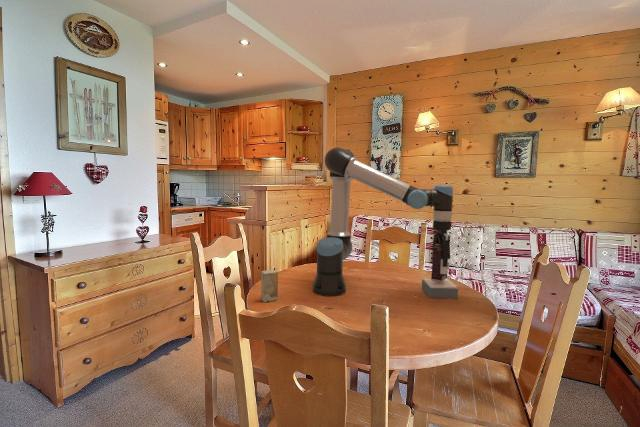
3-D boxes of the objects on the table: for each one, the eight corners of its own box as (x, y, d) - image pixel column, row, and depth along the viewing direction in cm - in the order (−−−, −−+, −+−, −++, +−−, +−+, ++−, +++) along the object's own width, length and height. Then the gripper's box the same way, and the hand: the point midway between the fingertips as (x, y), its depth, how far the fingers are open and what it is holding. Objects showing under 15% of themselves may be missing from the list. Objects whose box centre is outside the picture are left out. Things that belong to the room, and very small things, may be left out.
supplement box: (442, 282, 139) (443, 246, 138) (430, 280, 142) (432, 245, 140) (447, 278, 146) (449, 243, 144) (437, 276, 149) (438, 242, 147)
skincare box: (263, 302, 132) (263, 273, 131) (260, 299, 136) (260, 271, 135) (278, 300, 135) (278, 271, 134) (275, 296, 139) (274, 269, 138)
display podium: (429, 297, 139) (429, 286, 138) (421, 288, 151) (422, 278, 150) (457, 298, 138) (458, 287, 138) (447, 289, 150) (448, 278, 150)
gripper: (460, 223, 130) (457, 278, 133) (442, 217, 152) (440, 264, 154) (442, 223, 131) (439, 277, 133) (426, 217, 152) (424, 263, 155)
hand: (439, 270), depth 144 cm, fingers closed on supplement box, 9 cm apart
